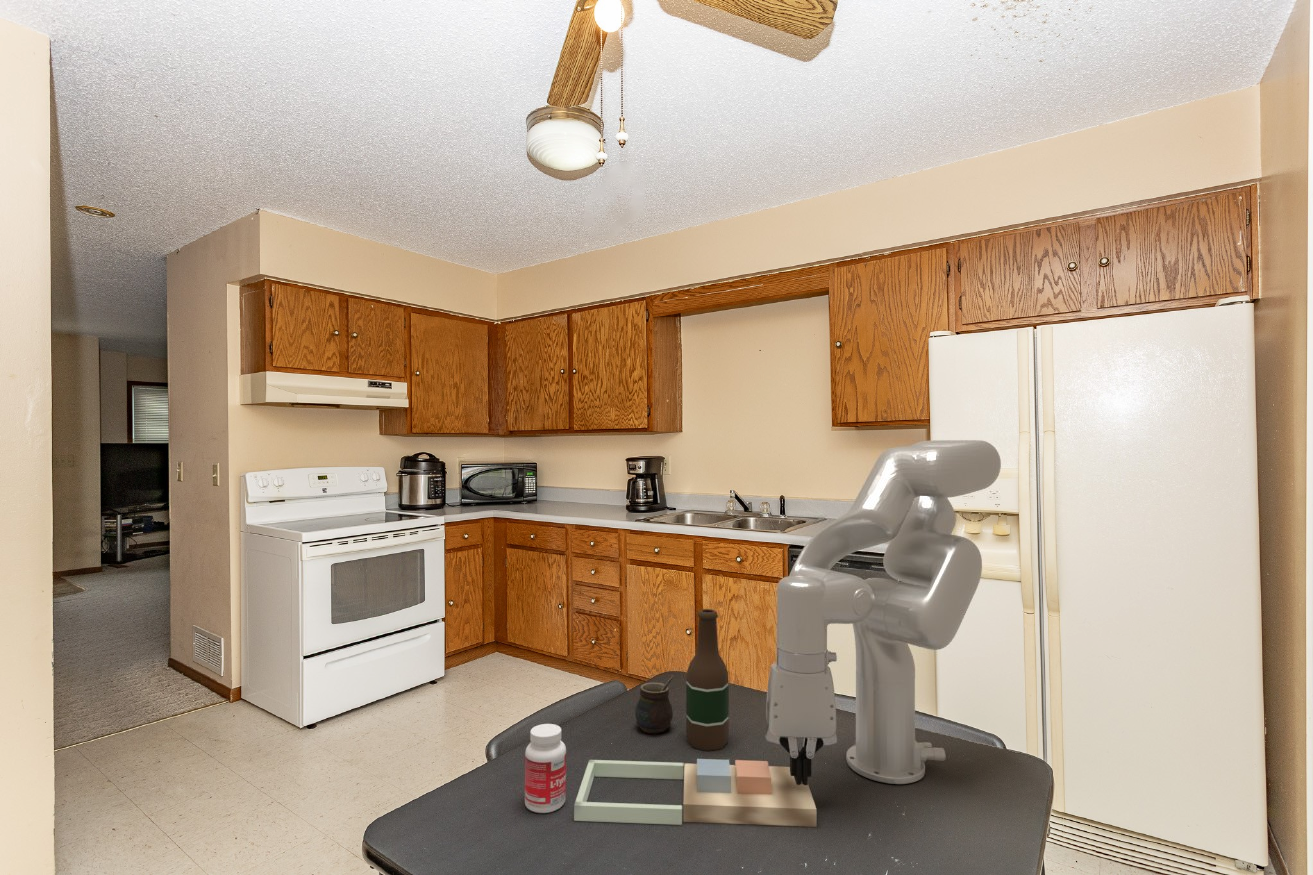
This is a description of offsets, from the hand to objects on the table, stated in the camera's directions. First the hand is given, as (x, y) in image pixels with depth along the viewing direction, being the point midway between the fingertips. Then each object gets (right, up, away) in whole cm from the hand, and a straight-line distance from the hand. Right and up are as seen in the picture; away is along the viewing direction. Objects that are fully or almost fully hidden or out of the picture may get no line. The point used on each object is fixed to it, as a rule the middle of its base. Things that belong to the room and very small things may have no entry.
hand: (800, 780), depth 98 cm
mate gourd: (-22, -4, +26) cm, 34 cm away
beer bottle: (-13, -4, +20) cm, 24 cm away
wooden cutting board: (-8, -4, +1) cm, 9 cm away
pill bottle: (-39, -4, 0) cm, 39 cm away
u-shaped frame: (-26, -3, +2) cm, 26 cm away
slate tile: (-13, -1, +1) cm, 13 cm away
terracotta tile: (-7, -1, +1) cm, 7 cm away
